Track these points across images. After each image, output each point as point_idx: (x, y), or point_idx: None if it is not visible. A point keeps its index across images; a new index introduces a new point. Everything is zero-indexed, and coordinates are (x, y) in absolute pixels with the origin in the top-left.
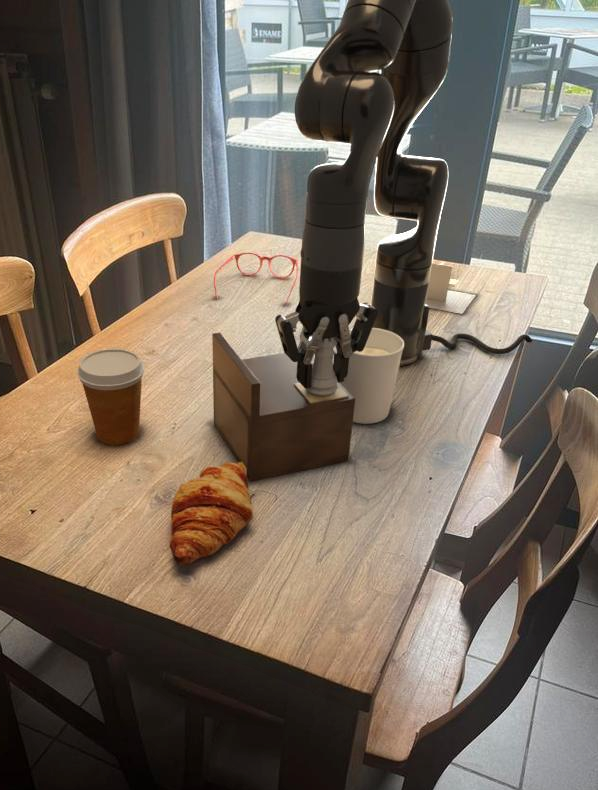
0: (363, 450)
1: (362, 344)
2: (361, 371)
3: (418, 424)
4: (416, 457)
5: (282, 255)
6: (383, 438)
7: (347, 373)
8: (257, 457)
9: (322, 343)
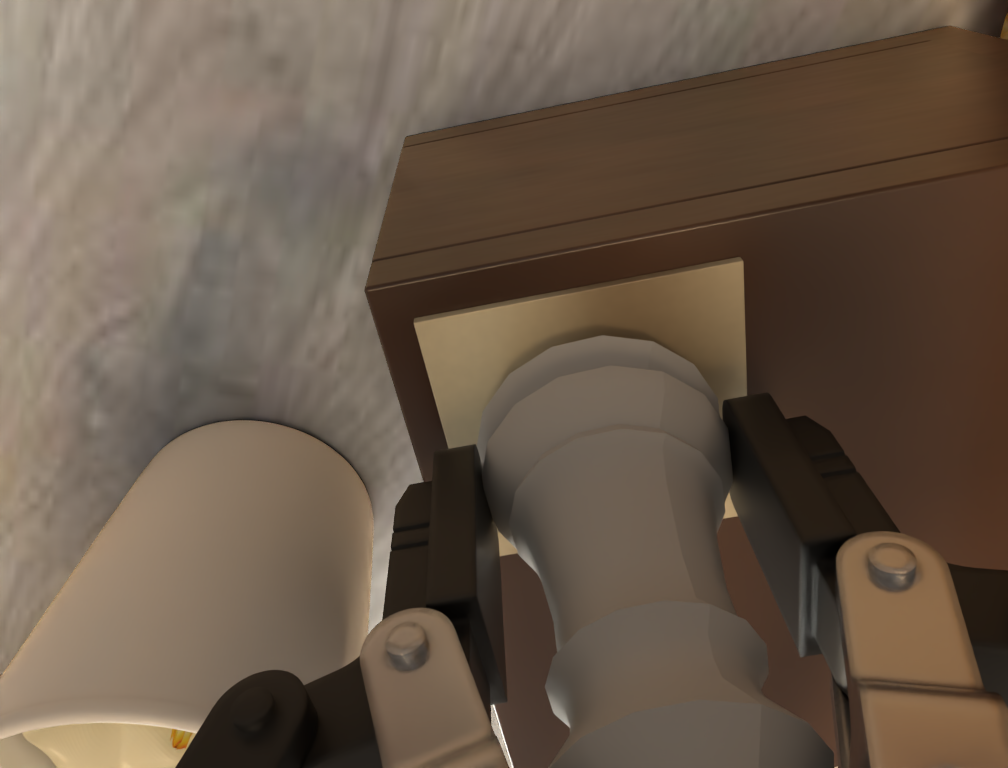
0: (308, 220)
1: (226, 747)
2: (246, 631)
3: (7, 393)
4: (33, 121)
5: None
6: (192, 305)
7: (397, 508)
8: (994, 54)
9: (778, 759)
